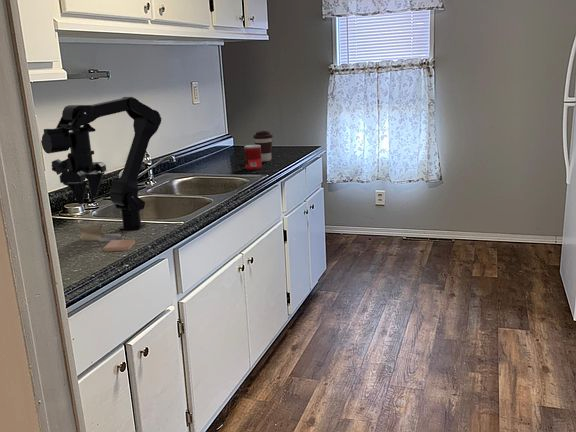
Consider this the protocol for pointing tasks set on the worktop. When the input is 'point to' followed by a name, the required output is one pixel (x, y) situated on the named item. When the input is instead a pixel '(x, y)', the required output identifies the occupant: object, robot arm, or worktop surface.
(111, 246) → the tile
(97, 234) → the turner
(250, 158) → the canned food
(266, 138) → the coffee cup
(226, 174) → the worktop surface
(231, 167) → the worktop surface
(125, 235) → the worktop surface
